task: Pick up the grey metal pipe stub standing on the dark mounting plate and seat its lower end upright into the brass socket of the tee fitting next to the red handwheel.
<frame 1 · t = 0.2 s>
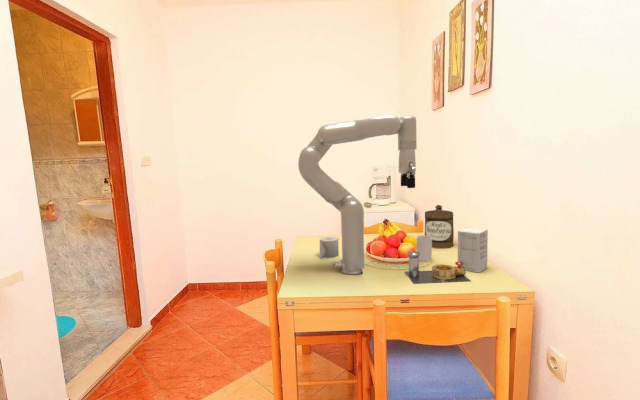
hand: (407, 186, 149), 36 cm above the table, tool pointing down, fingers open, 9 cm apart
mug: (424, 262, 163), on the table
pipe stub: (413, 274, 141), point 2 cm above the table, touching fitting board
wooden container: (438, 245, 191), on the table
supplement box: (472, 268, 151), on the table
fitting board: (436, 279, 139), on the table
toilet tissue: (328, 256, 177), on the table
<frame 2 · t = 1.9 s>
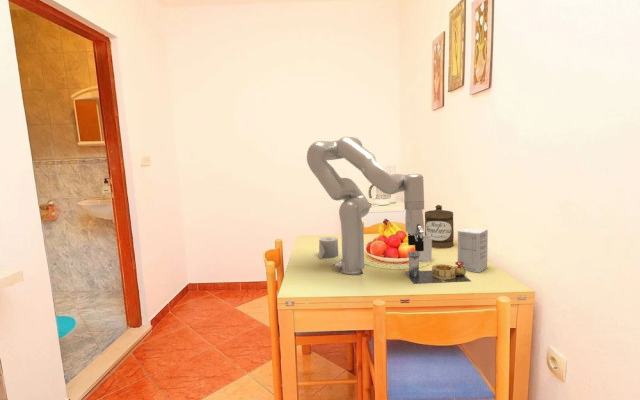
hand: (415, 247, 140), 13 cm above the table, tool pointing down, fingers open, 9 cm apart
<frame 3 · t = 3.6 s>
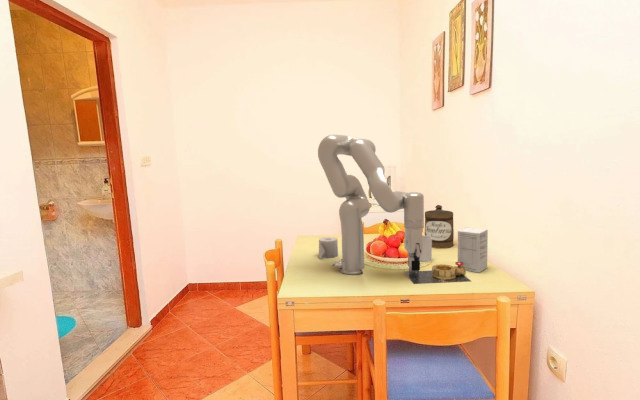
hand: (413, 267, 141), 4 cm above the table, tool pointing down, fingers closed on pipe stub, 4 cm apart
pipe stub: (413, 274, 141), point 2 cm above the table, touching fitting board, gripper
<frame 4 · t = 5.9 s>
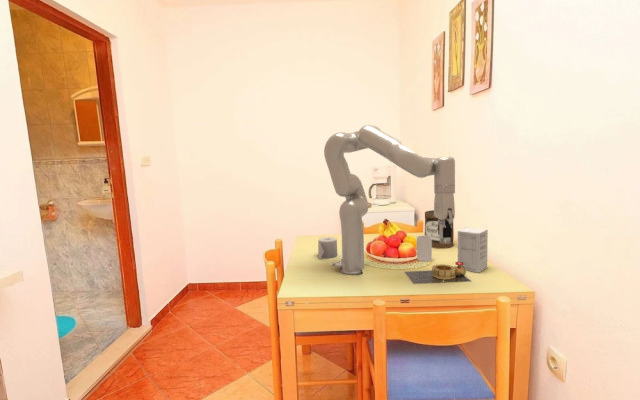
hand: (444, 235, 136), 18 cm above the table, tool pointing down, fingers closed on pipe stub, 4 cm apart
pipe stub: (444, 242, 137), point 15 cm above the table, touching gripper
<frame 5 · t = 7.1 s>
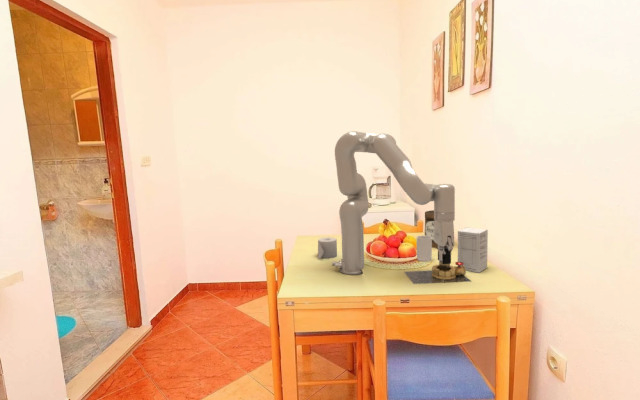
hand: (444, 261, 138), 7 cm above the table, tool pointing down, fingers closed on pipe stub, 4 cm apart
pipe stub: (444, 268, 138), point 5 cm above the table, touching gripper
when the fingers open (6 cm above the table, at t = 8.0 s): pipe stub drops 1 cm, resting on fitting board.
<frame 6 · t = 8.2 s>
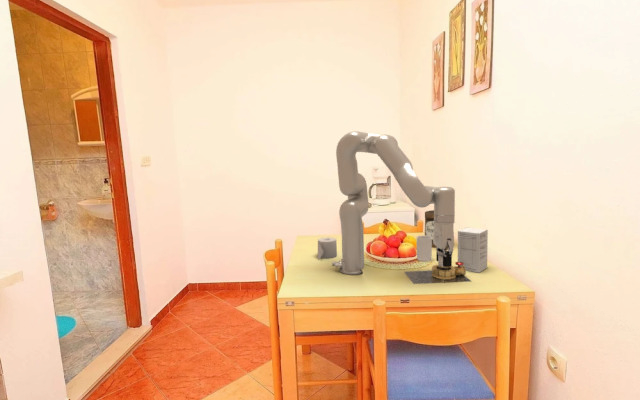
hand: (443, 263, 138), 7 cm above the table, tool pointing down, fingers open, 6 cm apart
pipe stub: (443, 273, 138), point 2 cm above the table, touching fitting board
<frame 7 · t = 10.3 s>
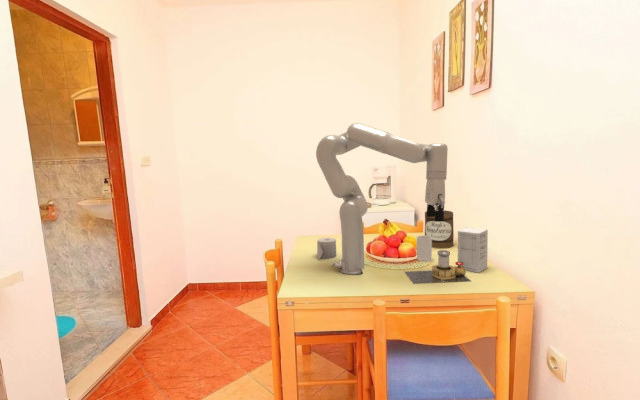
hand: (434, 218, 138), 24 cm above the table, tool pointing down, fingers open, 9 cm apart
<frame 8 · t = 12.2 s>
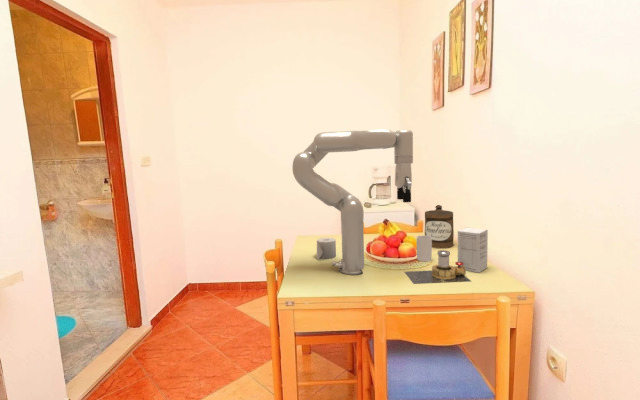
hand: (403, 200, 149), 30 cm above the table, tool pointing down, fingers open, 9 cm apart
at the end: pipe stub 0.1 cm from the target spot on the fitting board, point 2.3 cm above the fitting board's base; pipe stub tilted 0°; the gripper is holding nothing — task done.
